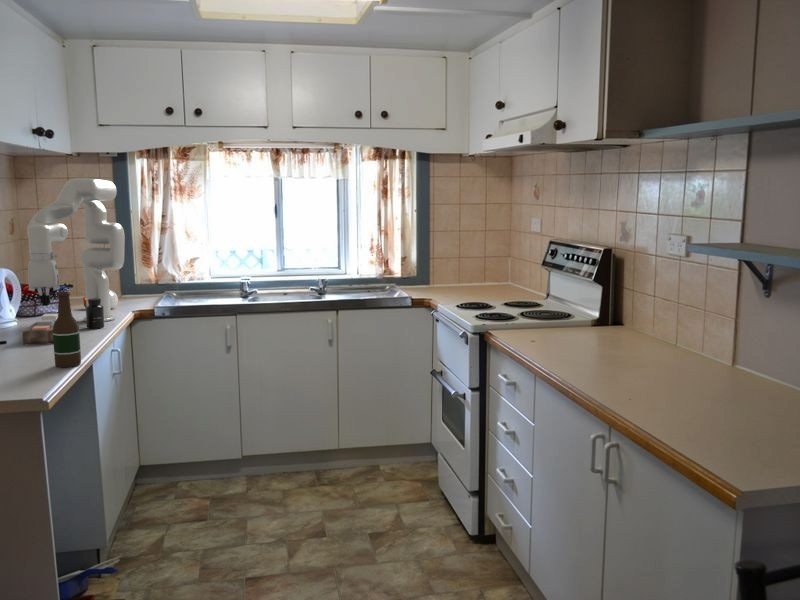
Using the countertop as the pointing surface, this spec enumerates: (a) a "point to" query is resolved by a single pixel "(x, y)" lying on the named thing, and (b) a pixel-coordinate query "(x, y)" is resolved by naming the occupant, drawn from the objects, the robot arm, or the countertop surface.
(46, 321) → the slate key
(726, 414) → the countertop surface
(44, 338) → the key console
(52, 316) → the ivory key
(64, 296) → the beer bottle
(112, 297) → the potion bottle
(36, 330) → the terracotta key
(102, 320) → the supplement bottle
